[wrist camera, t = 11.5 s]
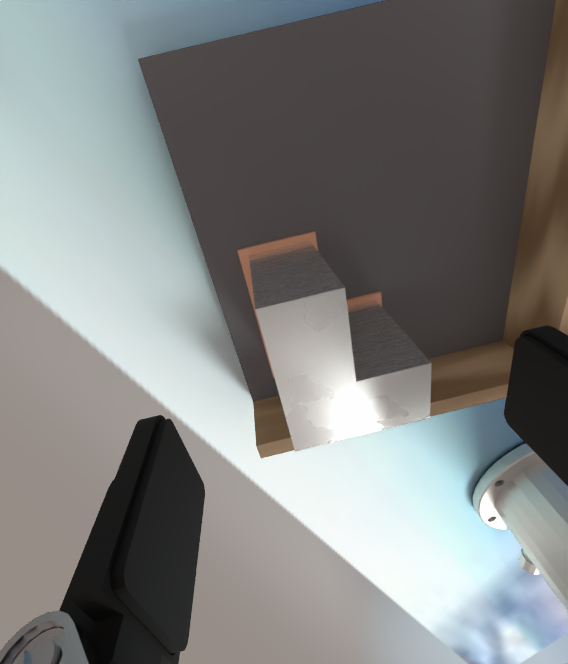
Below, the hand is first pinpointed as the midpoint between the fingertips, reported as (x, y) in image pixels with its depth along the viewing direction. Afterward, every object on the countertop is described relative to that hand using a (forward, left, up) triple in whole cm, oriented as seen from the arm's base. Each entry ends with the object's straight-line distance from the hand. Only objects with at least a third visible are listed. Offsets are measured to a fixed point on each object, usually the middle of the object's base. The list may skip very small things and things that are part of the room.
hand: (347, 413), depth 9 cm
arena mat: (+1, -5, -11) cm, 11 cm away
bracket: (-1, -1, -9) cm, 9 cm away
